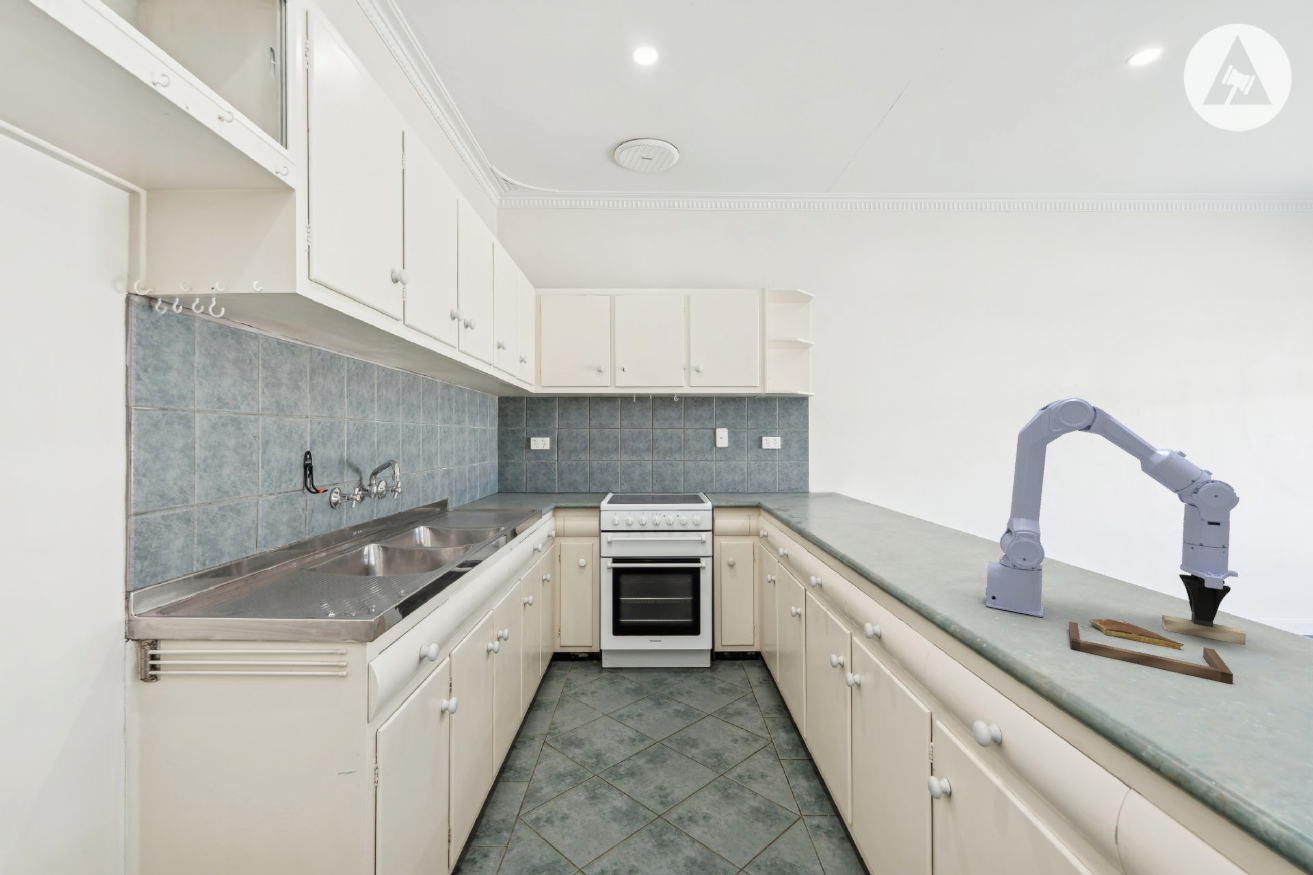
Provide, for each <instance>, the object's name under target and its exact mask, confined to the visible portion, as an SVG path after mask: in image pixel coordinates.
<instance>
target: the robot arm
mask: <svg viewBox="0 0 1313 875" xmlns="http://www.w3.org/2000/svg"><path fill="white" fill-rule="evenodd" d="M1076 431H1078V432H1083V433H1087V434H1088V433H1089V434H1095V435H1099V436H1101V437H1103V439H1105V440H1107V441H1109V442H1110V443H1112V444H1114V445H1115V446H1116V447H1118V448H1120V449H1121V450H1123V451H1124V452H1126V453H1127V454H1129V455H1131V456H1132V457H1134V458H1135V459H1137V460H1138V461H1139V462H1140V469H1141V472H1142V473H1145V474H1146V475H1147V476H1149V477H1150V478H1152V479H1154V480H1155V481H1156V482H1158V483H1159V484H1160V485H1162V486H1164V487H1165V488H1166V489H1168V490H1169V491H1171V492H1173V494H1176V495H1177V497H1178V499H1179V501H1180V502H1181V503H1183V504H1184V512H1183V525H1182V527H1183V529H1182V547H1181V548H1182V550H1181V552H1182V553H1181V554H1182V555H1181V564H1180V565H1179V569H1180V570H1181V571H1183V572H1185V573H1188V574H1185V573H1184V574H1178V576H1179V578H1180V580H1181V582H1182V584H1183V586H1184V588H1185V590H1186V594H1187V598H1188V603H1189V608H1190V612H1191V613H1192V605H1193V611H1194V615H1195V618H1196V619H1197V620H1202V621H1208V622H1213V623H1214V621H1215V619H1216V616H1217V613H1218V609H1219V607H1220V605H1221V603H1222V601H1223V600H1224V598H1225V597H1226V596H1227V595H1228V594H1229V593H1230V591H1231V589H1232V587H1231V586H1230V585H1226V583H1225V580H1226V579H1228V578H1230V577H1231V578H1232V577H1233V578H1237V577H1239V573H1238V571H1235V570H1229V554H1230V553H1229V552H1230V527H1231V520H1230V519H1231V518H1230V517H1231V511H1232V510H1233V509H1235V508H1236V506H1238V504H1239V502H1240V496H1238V495H1237V493H1236V492H1235V489H1234V487H1232V485H1230V484H1229V483H1227V482H1226V481H1222V480H1220V479H1219V480H1218V479H1213V478H1212V476H1213V472H1212V471H1210V470H1209V469H1202V468H1200V467H1199V466H1197V465H1196V464H1194V463H1192V462H1191V461H1190V460H1188V459H1187V458H1185V457H1187V454H1186V453H1185V452H1183V451H1182V450H1175V451H1174V450H1173V449H1171V448H1156V447H1155V446H1154V445H1152V444H1151V443H1150V442H1148V441H1146V440H1145V439H1144V438H1143V437H1141V436H1139V435H1138V434H1137V433H1136V432H1134V431H1133V430H1132V429H1130V428H1128V427H1127V426H1126V425H1125V424H1123V423H1122V422H1120V421H1119V420H1118V419H1117V418H1115V417H1113V416H1112V415H1111V414H1109V413H1108V412H1106V411H1104V410H1103V409H1101V408H1100V407H1098V406H1095V405H1093V406H1092V404H1091V403H1089V401H1088V400H1085V399H1083V398H1079V397H1069V398H1064V399H1058V400H1055V401H1052V402H1050V403H1048V404H1046V405H1045V406H1043V407H1041V408H1039V409H1038V411H1037V412H1036V414H1034V415H1033V416H1032V417H1031V419H1030V420H1029V421H1027V423H1026V424H1025V425H1024V426H1023V428H1021V429H1020V430H1019V432H1018V435H1017V444H1016V454H1015V463H1014V474H1013V483H1012V495H1011V504H1010V514H1009V518H1008V520H1007V523H1006V530H1005V532H1004V533H1003V534H1002V535H1001V537H1000V539H999V545H1000V549H1001V550H1002V552H1003V553H1004V555H1002V556H1001V557H1000V558H999V561H992V560H991V561H988V562H987V563H988V564H987V573H986V574H987V575H986V576H987V578H986V587H985V596H986V603H985V606H986V607H988V608H995V609H997V610H1004V611H1009V612H1015V613H1021V614H1025V615H1031V616H1035V617H1042V618H1043V617H1044V610H1045V609H1044V607H1045V606H1044V605H1045V604H1043V603H1042V592H1043V591H1042V590H1043V565H1042V564H1041V563H1043V561H1044V558H1045V549H1044V547H1043V545H1042V543H1041V527H1040V514H1041V505H1042V495H1043V494H1042V493H1043V487H1044V476H1045V475H1044V473H1045V464H1046V454H1047V446H1048V445H1049V444H1050V443H1052V442H1054V441H1055V440H1057V439H1058V438H1060V437H1063V435H1065V434H1069V433H1073V432H1076Z"/></svg>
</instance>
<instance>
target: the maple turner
mask: <svg viewBox="0 0 1313 875" xmlns="http://www.w3.org/2000/svg"><path fill="white" fill-rule="evenodd" d="M1161 626H1162V628H1163V629H1164V631H1168V632H1173V633H1178V634H1183V635H1184V634H1185V635H1189V636H1195V637H1199V638H1200V637H1201V638H1205V639H1210V640H1211V639H1212V640H1217V641H1221V642H1226V643H1232V644H1239V645H1243V646H1245V645H1246V636H1247V634H1246V632H1245V631H1244V630H1243V629H1242V628H1241V627H1236V626H1235V627H1234V626H1228V625H1224V624H1223V625H1222V624H1218V623H1217V624H1216V623H1214V621H1213V622H1208V621H1202V620H1197V619H1196V618H1195V615H1194V611H1193V605H1192V612H1191V619H1190V618H1189V619H1188V618H1182V617H1175V616H1170V615H1165V614H1162V618H1161Z"/></svg>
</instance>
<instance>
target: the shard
mask: <svg viewBox="0 0 1313 875" xmlns="http://www.w3.org/2000/svg"><path fill="white" fill-rule="evenodd" d="M1089 623H1090V624H1091V625H1092V627H1094V628H1096V629H1098V630H1100V631H1101V632H1102V633H1103V635H1105V636H1109V637H1115V638H1123V639H1127V640H1130V641H1136V642H1138V643H1140V642H1141V643H1145V644H1148V645H1149V644H1150V645H1152V646H1153V645H1155V646H1159V647H1164V648H1170V649H1175V650H1181V647H1182V646H1184V645H1185V644H1183V643H1181V642H1178V641H1175V640H1173V639H1170V638H1167V637H1165V636H1162V635H1160V634H1158V633H1156V632H1152V631H1150V630H1148V629H1145V628H1142V627H1140V626H1137V625H1135V624H1131V623H1129V622H1126V621H1120V620H1119V621H1118V620H1116V619H1111V618H1105V619H1104V618H1103V619H1101V618H1099V619H1098V618H1097V619H1095V618H1094V619H1093V618H1092V619H1089Z"/></svg>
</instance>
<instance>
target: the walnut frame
mask: <svg viewBox="0 0 1313 875" xmlns="http://www.w3.org/2000/svg"><path fill="white" fill-rule="evenodd" d="M1079 631H1080V630H1079V624H1078V622H1073V621H1069V622H1068V634H1069V644H1070V650H1073V651H1074V650H1075V651H1078V652H1083V653H1088V654H1092V655H1098V656H1101V657H1102V656H1103V657H1106V658H1112V659H1115V660H1119V661H1125V662H1130V663H1133V664H1138V665H1143V666H1148V667H1151V668H1157V669H1161V670H1166V671H1169V672H1170V671H1171V672H1173V673H1174V672H1176V673H1179V674H1185V675H1188V676H1189V675H1190V676H1194V677H1198V678H1203V679H1206V680H1212V681H1216V682H1221V683H1226V684H1231V685H1233V684H1234V683H1233V682H1234V674H1233V672H1232V671H1231V669H1230V668H1229V667H1228V666H1227V664H1226V662H1225V661H1224V660H1223V659H1222V658H1221V656H1220V655H1219V654H1218V653H1217V651H1216V649H1214V648H1209V647H1206V646H1205V647H1204V646H1203V650H1202V657H1203V658H1204V659H1205V661H1206V663H1207V664H1208V665H1202V664H1199V663H1195V662H1190V661H1189V662H1188V661H1185V660H1184V661H1183V660H1179V659H1174V658H1169V657H1165V656H1161V655H1160V656H1159V655H1155V654H1151V653H1145V652H1140V651H1135V650H1130V649H1127V648H1121V647H1116V646H1112V645H1107V644H1102V643H1096V642H1092V641H1088V640H1082V639H1081V637H1080V632H1079Z"/></svg>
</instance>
